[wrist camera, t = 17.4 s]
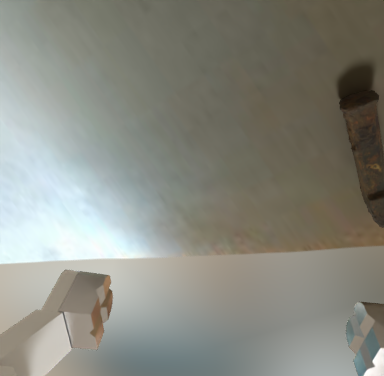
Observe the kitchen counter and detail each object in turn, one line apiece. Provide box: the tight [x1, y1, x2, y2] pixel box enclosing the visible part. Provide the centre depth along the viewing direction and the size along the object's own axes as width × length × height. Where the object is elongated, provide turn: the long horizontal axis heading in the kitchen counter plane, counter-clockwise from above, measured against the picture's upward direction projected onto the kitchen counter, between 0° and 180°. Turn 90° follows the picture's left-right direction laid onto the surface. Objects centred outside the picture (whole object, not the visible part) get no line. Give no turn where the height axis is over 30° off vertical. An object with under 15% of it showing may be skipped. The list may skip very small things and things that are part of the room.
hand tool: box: [339, 90, 384, 228], centre depth 42 cm, size 19×4×5 cm, turn 21°
